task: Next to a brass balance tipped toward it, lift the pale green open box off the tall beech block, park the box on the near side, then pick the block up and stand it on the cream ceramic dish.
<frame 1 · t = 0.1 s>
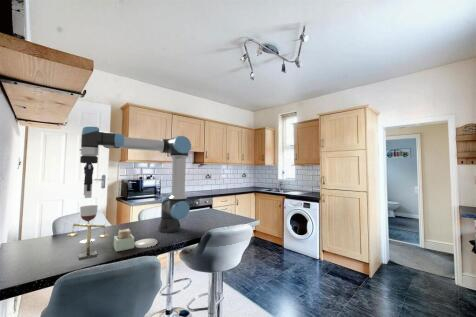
hand: (87, 196, 110), 28 cm above the breakfast bar, fingers open, 13 cm apart
balance: (87, 256, 103), on the breakfast bar
pale green open box: (123, 247, 115), on the breakfast bar
block: (124, 238, 115), in the pale green open box
dish: (146, 244, 120), on the breakfast bar
wineglass: (87, 241, 125), on the breakfast bar
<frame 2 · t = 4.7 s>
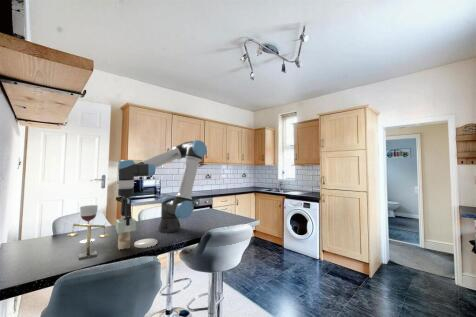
hand: (125, 229, 116), 9 cm above the breakfast bar, fingers closed on pale green open box, 8 cm apart
pale green open box: (125, 230, 116), point 9 cm above the breakfast bar, touching gripper
everything else where it was.
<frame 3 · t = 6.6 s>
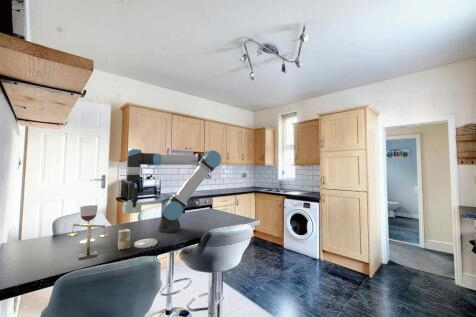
hand: (131, 211, 129), 17 cm above the breakfast bar, fingers closed on pale green open box, 8 cm apart
pale green open box: (131, 211, 129), point 16 cm above the breakfast bar, touching gripper
everything else where it was.
when the fingers open (0 cm above the breakfast bar, at t = 8.9 s): pale green open box stays where it is, on the breakfast bar.
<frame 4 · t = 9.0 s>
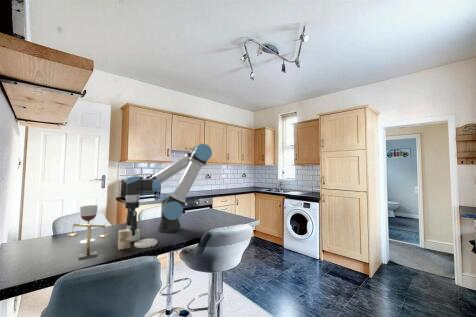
hand: (130, 238, 128), 0 cm above the breakfast bar, fingers open, 10 cm apart
pale green open box: (130, 239, 128), on the breakfast bar
everything else where it was.
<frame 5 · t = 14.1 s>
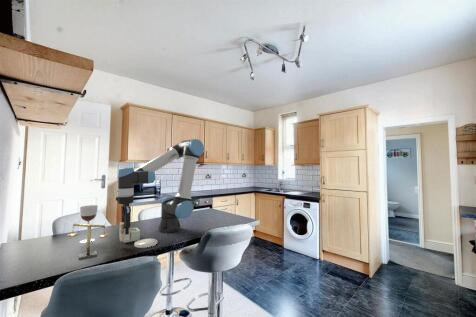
hand: (125, 238, 116), 4 cm above the breakfast bar, fingers closed on block, 5 cm apart
block: (125, 231, 116), point 8 cm above the breakfast bar, touching gripper
everything else where it was.
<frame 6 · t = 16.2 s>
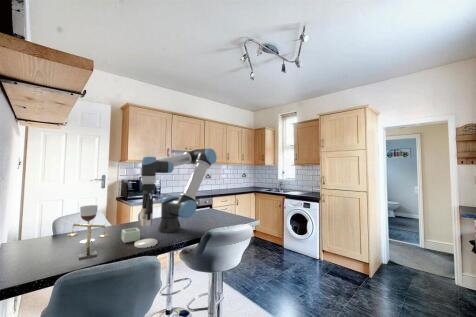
hand: (146, 224, 120), 11 cm above the breakfast bar, fingers closed on block, 5 cm apart
block: (146, 217, 121), point 15 cm above the breakfast bar, touching gripper
everything else where it was.
when the fingers open (2 cm above the breakfast bar, at t = 18.1 s): block stays where it is, resting on dish.
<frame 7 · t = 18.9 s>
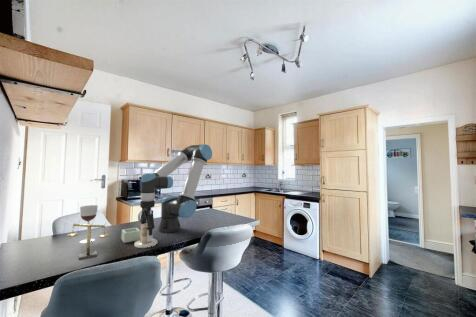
hand: (146, 238, 120), 3 cm above the breakfast bar, fingers open, 13 cm apart
block: (146, 234, 120), on the dish, point 6 cm above the breakfast bar
everything else where it was.
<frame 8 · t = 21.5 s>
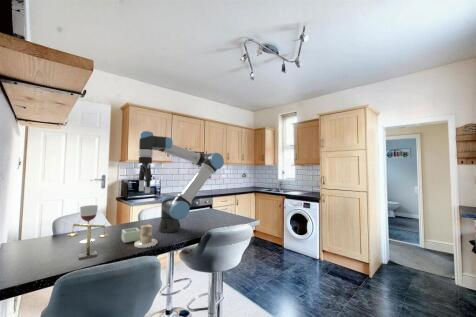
hand: (144, 191, 128), 29 cm above the breakfast bar, fingers open, 13 cm apart
nothing on the breakfast bar moved.
at the end: block inside the target area on the dish (0.2 cm from its centre), point 5.7 cm above the dish's base; block tilted 0°; pale green open box moved 13.3 cm from its start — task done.
